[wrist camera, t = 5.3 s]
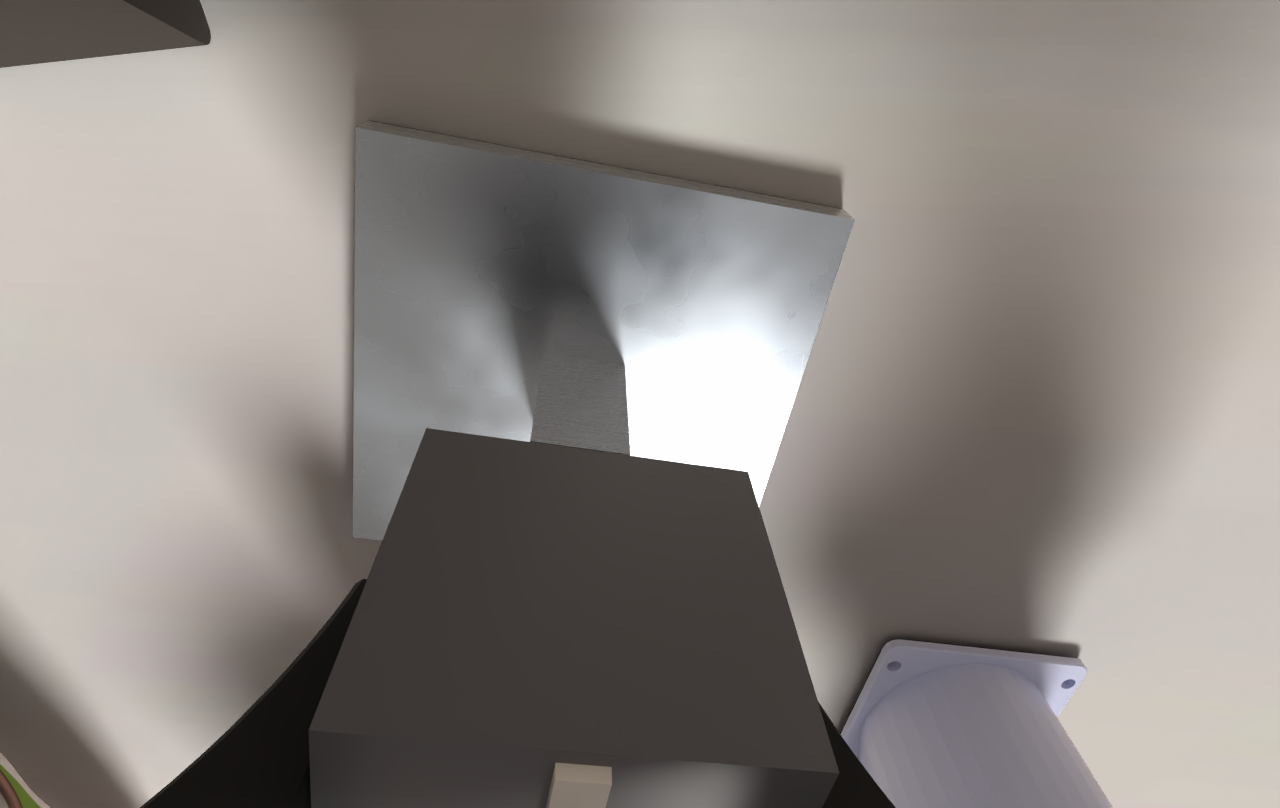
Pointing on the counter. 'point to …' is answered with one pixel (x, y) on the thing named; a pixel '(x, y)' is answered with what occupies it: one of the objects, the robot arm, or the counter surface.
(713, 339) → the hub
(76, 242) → the counter surface
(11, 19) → the phone stand
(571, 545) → the grey cube with stripe
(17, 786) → the pouch
